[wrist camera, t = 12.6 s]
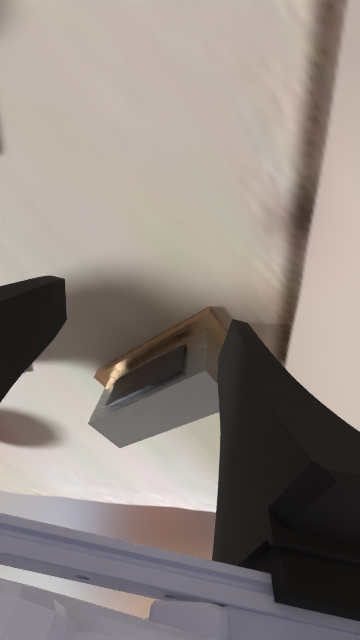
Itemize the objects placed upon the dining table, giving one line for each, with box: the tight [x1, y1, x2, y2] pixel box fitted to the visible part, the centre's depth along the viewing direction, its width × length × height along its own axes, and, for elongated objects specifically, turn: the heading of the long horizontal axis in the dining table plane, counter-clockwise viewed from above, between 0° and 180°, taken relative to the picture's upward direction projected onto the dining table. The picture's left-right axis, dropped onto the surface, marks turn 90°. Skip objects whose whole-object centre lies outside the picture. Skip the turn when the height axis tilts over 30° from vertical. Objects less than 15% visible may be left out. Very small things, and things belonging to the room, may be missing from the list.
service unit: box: [88, 307, 228, 448], centre depth 22 cm, size 7×14×6 cm, turn 127°
